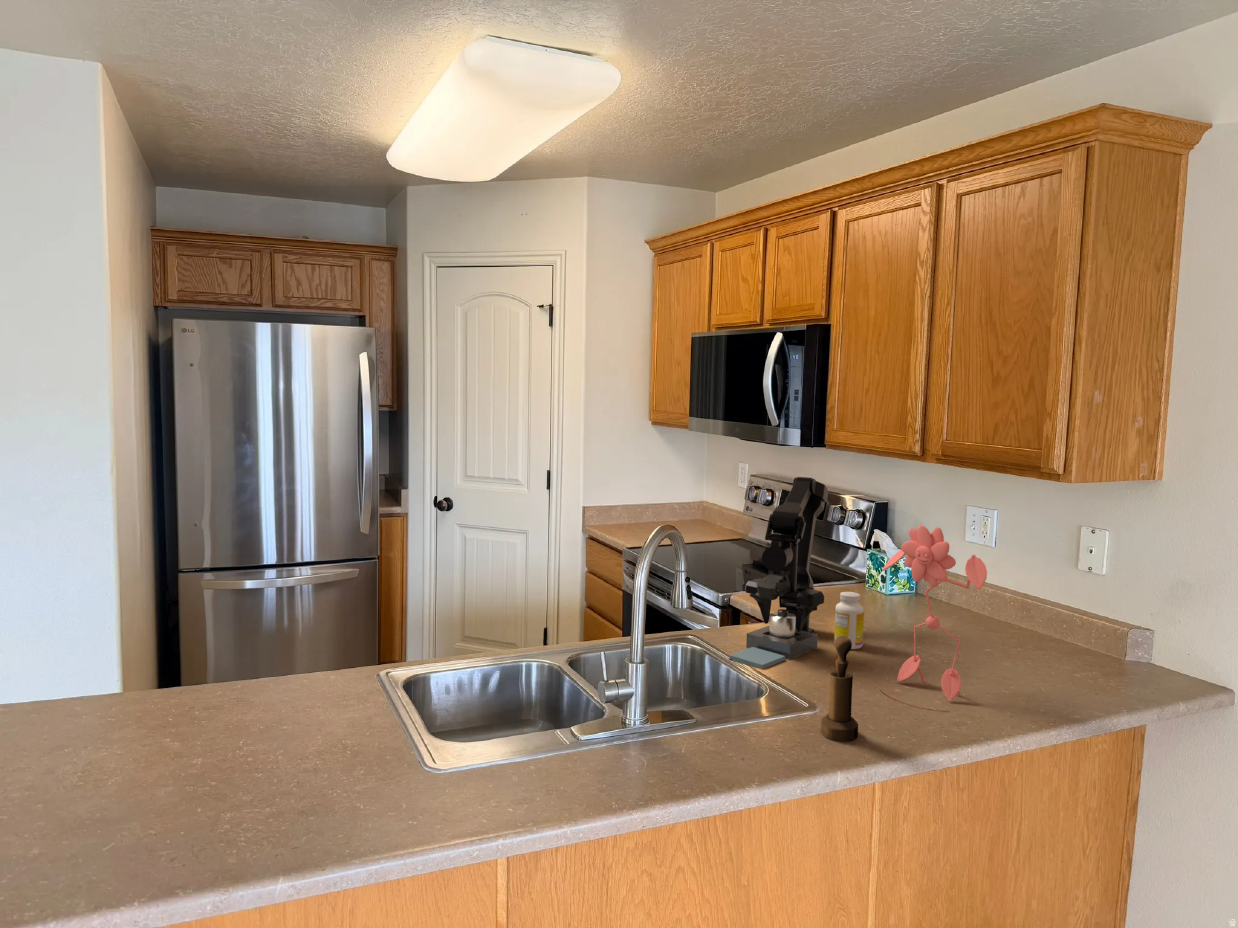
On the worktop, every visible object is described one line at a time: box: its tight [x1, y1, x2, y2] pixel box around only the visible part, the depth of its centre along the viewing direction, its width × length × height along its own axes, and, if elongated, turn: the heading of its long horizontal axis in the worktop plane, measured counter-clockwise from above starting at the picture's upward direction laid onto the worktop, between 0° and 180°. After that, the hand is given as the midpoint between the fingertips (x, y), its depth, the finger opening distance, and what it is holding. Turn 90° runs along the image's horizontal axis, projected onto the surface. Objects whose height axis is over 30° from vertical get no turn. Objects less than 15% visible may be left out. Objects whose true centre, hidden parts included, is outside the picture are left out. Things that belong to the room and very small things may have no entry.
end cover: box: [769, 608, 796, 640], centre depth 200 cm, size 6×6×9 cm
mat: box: [728, 647, 786, 670], centre depth 191 cm, size 9×9×1 cm
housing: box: [745, 625, 819, 660], centre depth 200 cm, size 12×12×4 cm
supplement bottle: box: [833, 591, 865, 650], centre depth 202 cm, size 7×7×13 cm
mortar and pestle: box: [820, 636, 859, 742], centre depth 151 cm, size 7×6×18 cm
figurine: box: [880, 524, 988, 713], centre depth 170 cm, size 15×26×35 cm, turn 30°
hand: (782, 627), depth 200 cm, fingers open, 9 cm apart
